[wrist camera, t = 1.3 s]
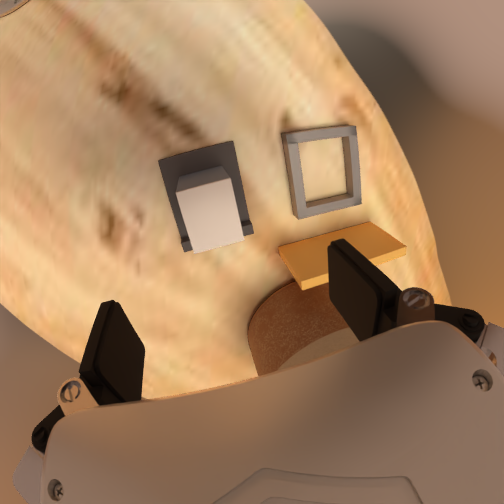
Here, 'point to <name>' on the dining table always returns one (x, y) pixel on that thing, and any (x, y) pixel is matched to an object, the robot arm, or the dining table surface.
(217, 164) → the dark grey lipped plate
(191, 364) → the dining table surface
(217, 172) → the plug
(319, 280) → the port
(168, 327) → the dining table surface
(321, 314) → the planter
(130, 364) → the robot arm
